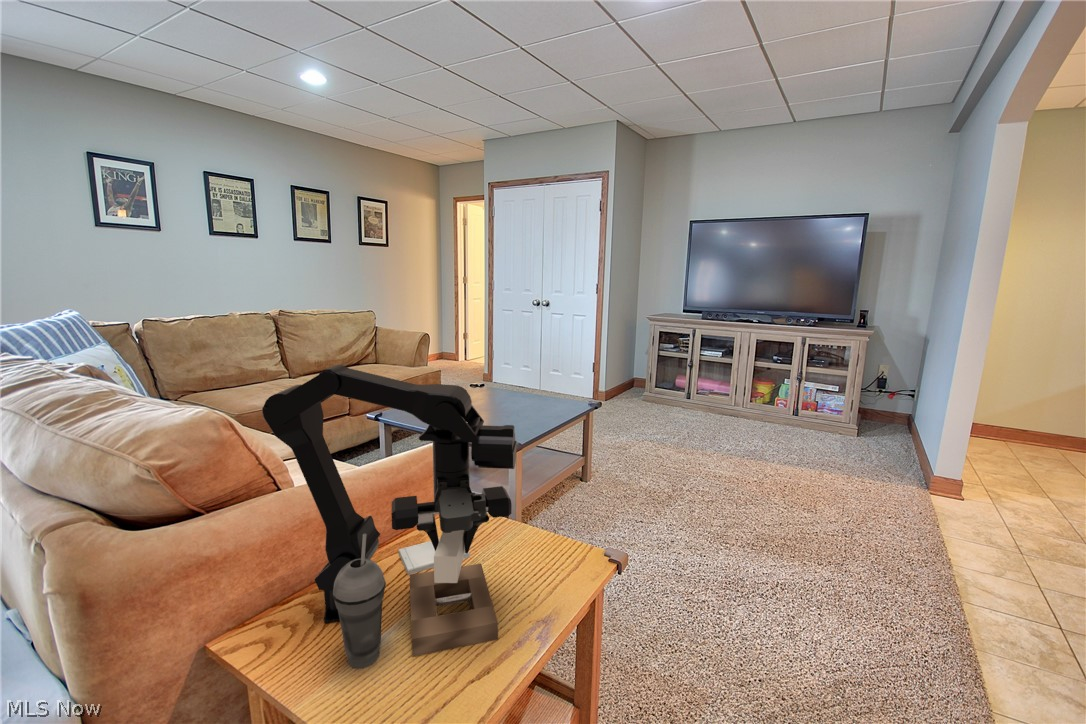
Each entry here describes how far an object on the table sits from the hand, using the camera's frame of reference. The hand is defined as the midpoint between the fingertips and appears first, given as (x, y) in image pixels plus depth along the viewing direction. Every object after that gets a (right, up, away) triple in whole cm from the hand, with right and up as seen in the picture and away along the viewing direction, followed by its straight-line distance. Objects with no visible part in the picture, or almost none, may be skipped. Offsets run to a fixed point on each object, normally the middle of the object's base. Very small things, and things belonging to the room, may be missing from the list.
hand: (452, 554), depth 79 cm
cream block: (0, -1, 0) cm, 1 cm away
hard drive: (-7, -8, +18) cm, 21 cm away
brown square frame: (-1, -11, +2) cm, 11 cm away
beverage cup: (-12, -12, -8) cm, 19 cm away
